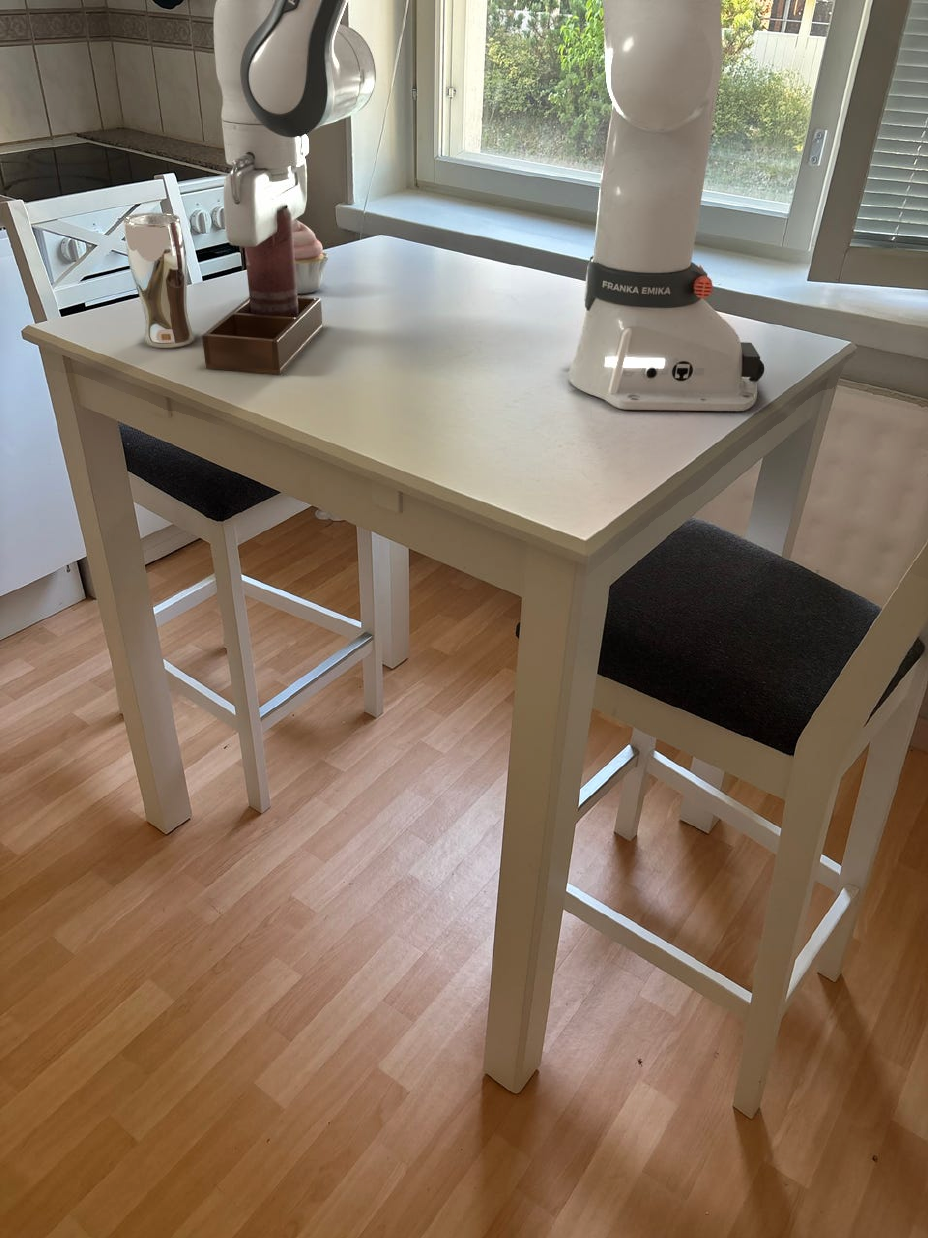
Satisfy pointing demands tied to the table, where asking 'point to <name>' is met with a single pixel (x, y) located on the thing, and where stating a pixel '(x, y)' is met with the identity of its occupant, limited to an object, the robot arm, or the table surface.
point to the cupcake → (307, 258)
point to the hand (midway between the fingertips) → (272, 266)
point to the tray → (261, 338)
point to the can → (273, 272)
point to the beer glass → (160, 276)
